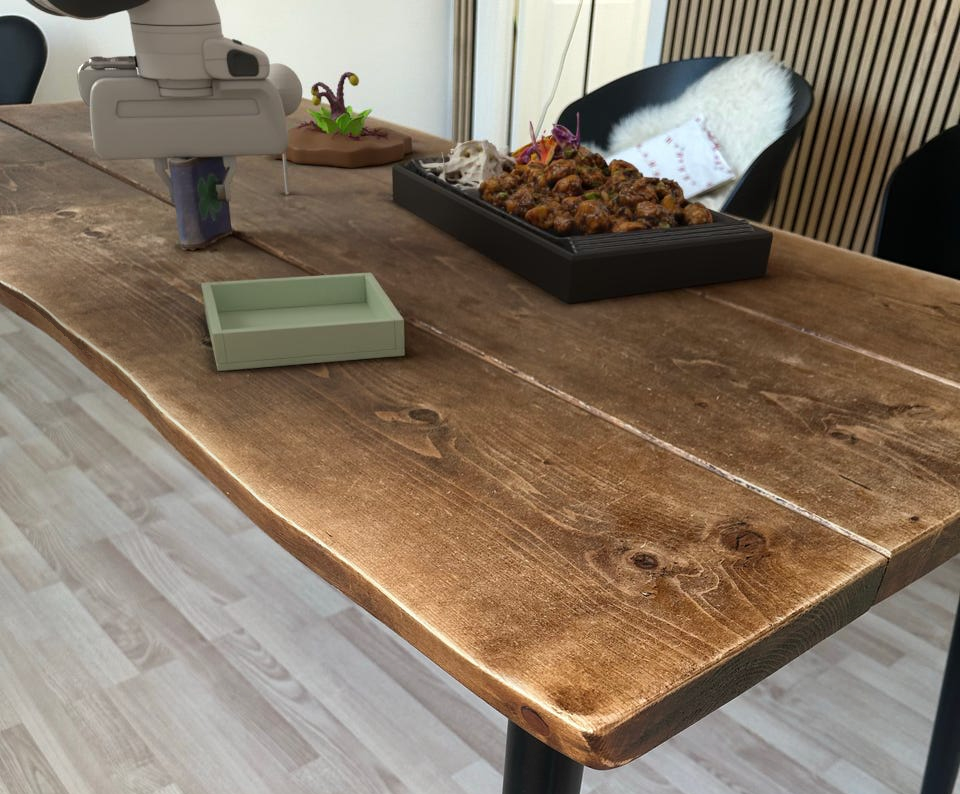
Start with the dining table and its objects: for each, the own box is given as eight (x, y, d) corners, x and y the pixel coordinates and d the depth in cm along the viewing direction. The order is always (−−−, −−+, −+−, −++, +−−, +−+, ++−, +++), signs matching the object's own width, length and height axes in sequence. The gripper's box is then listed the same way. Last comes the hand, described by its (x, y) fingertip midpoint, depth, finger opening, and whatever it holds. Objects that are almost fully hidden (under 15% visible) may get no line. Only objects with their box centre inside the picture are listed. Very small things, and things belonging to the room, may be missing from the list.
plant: (364, 173, 139) (360, 84, 133) (253, 158, 146) (244, 73, 139) (429, 150, 154) (428, 69, 147) (325, 137, 160) (320, 59, 154)
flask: (196, 251, 105) (180, 143, 99) (172, 248, 106) (155, 140, 100) (238, 231, 112) (225, 129, 106) (215, 229, 113) (202, 127, 107)
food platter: (393, 201, 126) (390, 112, 120) (555, 187, 135) (560, 104, 129) (568, 303, 94) (577, 189, 88) (765, 276, 103) (786, 171, 97)
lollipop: (279, 187, 131) (267, 59, 122) (318, 191, 129) (309, 62, 120) (256, 196, 126) (242, 64, 117) (296, 201, 125) (285, 67, 116)
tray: (217, 371, 78) (212, 333, 76) (206, 317, 89) (201, 282, 87) (404, 355, 82) (404, 319, 80) (372, 305, 92) (371, 272, 91)
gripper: (71, 60, 93) (102, 212, 102) (283, 58, 98) (296, 203, 106) (73, 52, 98) (102, 198, 106) (276, 51, 103) (288, 190, 111)
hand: (201, 201), depth 106 cm, fingers closed on flask, 3 cm apart
